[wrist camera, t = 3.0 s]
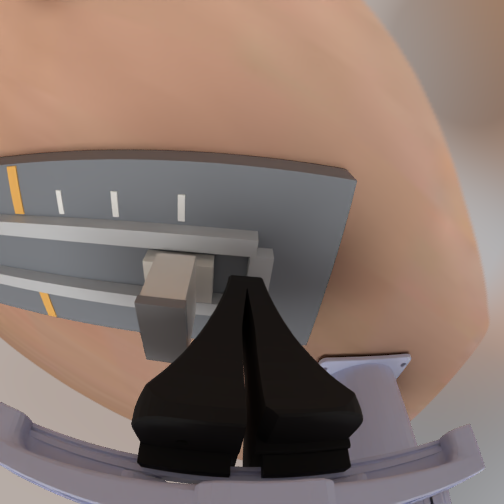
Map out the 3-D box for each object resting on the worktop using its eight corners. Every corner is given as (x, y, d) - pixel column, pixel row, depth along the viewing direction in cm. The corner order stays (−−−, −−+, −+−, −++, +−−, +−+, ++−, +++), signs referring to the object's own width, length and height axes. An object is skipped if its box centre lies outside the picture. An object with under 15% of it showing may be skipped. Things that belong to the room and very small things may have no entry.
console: (302, 325, 18) (308, 355, 16) (5, 288, 17) (-10, 308, 15) (345, 169, 13) (363, 187, 11) (-31, 161, 11) (-55, 176, 9)
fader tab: (212, 299, 14) (204, 366, 11) (152, 293, 14) (131, 356, 11) (215, 244, 13) (204, 310, 9) (147, 238, 12) (116, 300, 9)
